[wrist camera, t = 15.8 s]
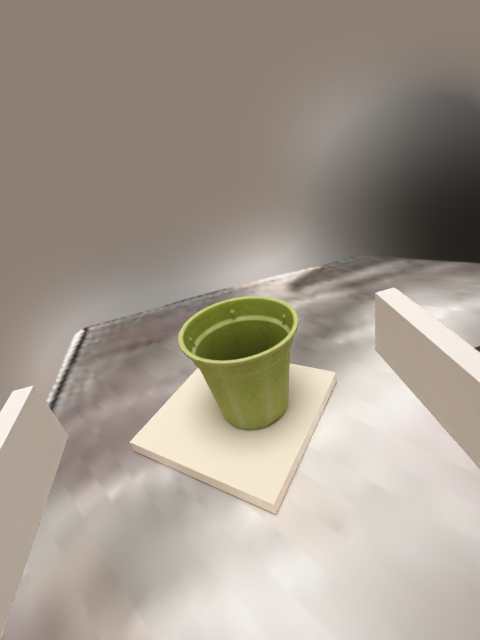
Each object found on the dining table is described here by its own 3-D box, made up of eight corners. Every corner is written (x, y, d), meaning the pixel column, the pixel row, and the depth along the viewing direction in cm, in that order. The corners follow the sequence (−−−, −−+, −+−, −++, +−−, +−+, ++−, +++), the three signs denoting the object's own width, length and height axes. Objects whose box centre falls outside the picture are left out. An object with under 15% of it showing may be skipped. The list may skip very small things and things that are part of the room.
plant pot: (215, 372, 37) (194, 300, 32) (306, 367, 34) (297, 290, 30) (193, 447, 29) (161, 366, 24) (309, 446, 27) (297, 358, 22)
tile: (336, 382, 34) (335, 372, 33) (276, 514, 24) (273, 504, 23) (217, 356, 41) (215, 348, 40) (134, 450, 31) (129, 442, 30)
